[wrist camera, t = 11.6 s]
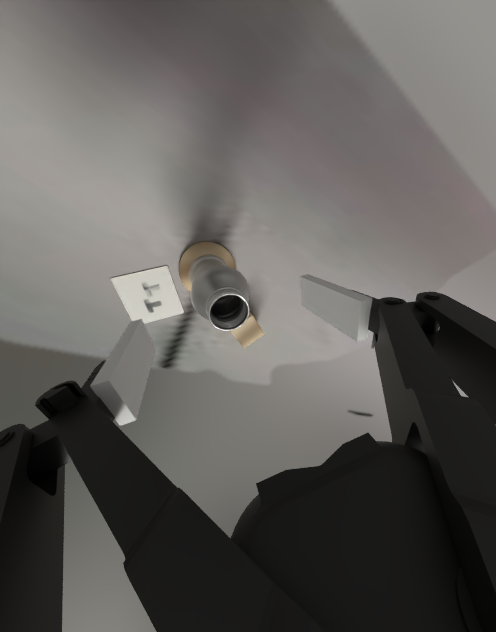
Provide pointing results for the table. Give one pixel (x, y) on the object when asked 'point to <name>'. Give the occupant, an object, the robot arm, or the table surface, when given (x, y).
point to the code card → (148, 294)
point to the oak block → (248, 332)
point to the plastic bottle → (219, 292)
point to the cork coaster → (196, 252)
